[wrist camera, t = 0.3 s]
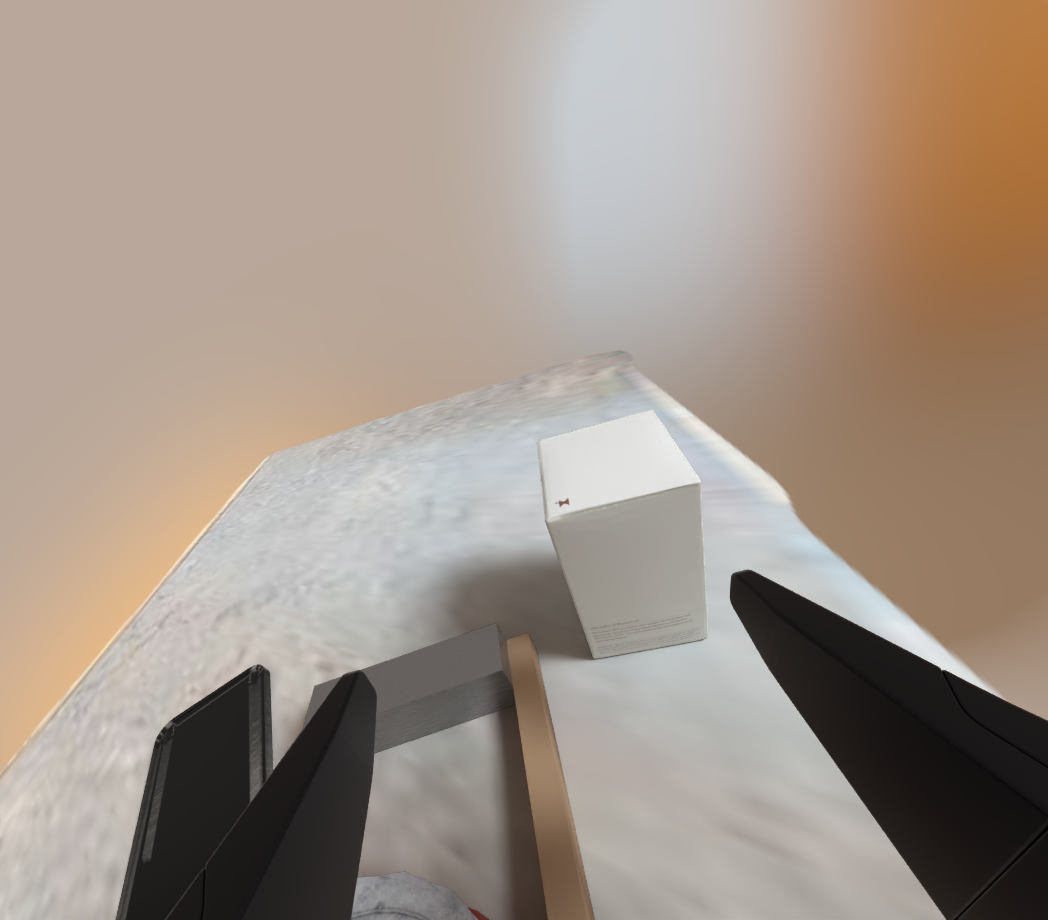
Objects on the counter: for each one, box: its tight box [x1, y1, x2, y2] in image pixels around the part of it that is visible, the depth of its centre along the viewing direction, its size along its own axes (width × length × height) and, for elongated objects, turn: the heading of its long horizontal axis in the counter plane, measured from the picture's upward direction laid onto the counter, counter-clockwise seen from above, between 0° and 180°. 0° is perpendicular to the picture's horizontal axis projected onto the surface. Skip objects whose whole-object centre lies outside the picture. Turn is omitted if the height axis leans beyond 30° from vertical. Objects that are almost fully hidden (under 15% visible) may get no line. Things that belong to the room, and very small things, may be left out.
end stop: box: [303, 623, 516, 753], centre depth 24 cm, size 3×12×4 cm, turn 100°
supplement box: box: [537, 410, 708, 659], centre depth 24 cm, size 7×7×13 cm
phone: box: [116, 665, 273, 920], centre depth 25 cm, size 8×1×15 cm
